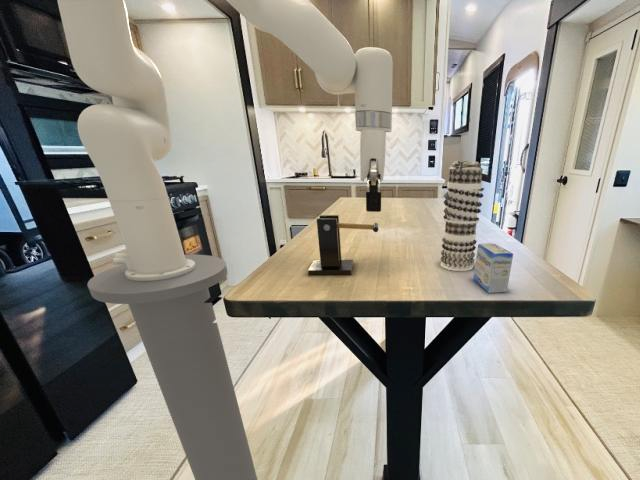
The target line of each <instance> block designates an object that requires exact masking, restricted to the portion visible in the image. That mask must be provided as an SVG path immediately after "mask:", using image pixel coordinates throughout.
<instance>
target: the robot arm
mask: <svg viewBox="0 0 640 480" xmlns="http://www.w3.org/2000/svg"><path fill="white" fill-rule="evenodd" d="M225 1H226V2H227V3H228V4H229V5H231V6H232V8H233V9H234V10H236V11H237V12H238V13H239V14H240V15H241V16H242V17H243V18H244V19H245V20H246V21H247V22H248V23H250V24H251V25H252V26H253V27H254V28H256V29H257V30H258V31H261V32H263V33H268V34H270V35H272V36H273V37H275V38H276V39H278V40H279V41H280V42H281V43H283V44H284V45H285V46H286V47H287V48H288V49H290V50H291V52H293V53H294V54H295V55H296V56H297V57H298V58H299V59H300V60H302V61H303V63H304V64H306V65H307V66H308V67H309V68H310V69H311V70H312V71H313V72H314V75H315V78H316V82H317V83H318V85H319V86H320V87H321V89H322V90H323V91H324V92H326V93H328V94H331V95H347V94H354V106H355V107H354V112H355V113H354V116H355V117H354V119H355V121H354V123H355V131H356V132H360V140H359V144H360V145H359V158H360V161H359V163H360V165H359V167H360V168H359V169H360V181H361V182H365V179H366V191H365V211H366V212H370V213H374V212H375V213H380V212H381V211H382V192H381V183H382V182H383V181H384V176H385V165H386V142H387V141H386V139H387V138H386V137H387V136H386V135H387V133H392V125H393V124H392V121H393V114H392V113H393V70H394V69H393V68H394V62H393V61H394V60H393V57H392V54H391V53H390V52H389V51H388V50H387V49H384V48H380V47H373V46H368V47H363V48H360V49H358V50H357V51H356V52H355V53H354V50H353V48H352V46H351V44H350V43H349V41H348V40H347V39H346V38H345V36H344V35H343V34H342V33H341V31H340V30H339V29H338V28H336V27H335V25H334V24H333V23H332V22H331V21H330V20H329V19H328V18H327V17H326V16H325V15H324V14H323V13H322V12H321V11H320V10H319V9H318V7H316V6H315V5H314V4H313V3H312V2H310V0H225ZM57 5H58V10H59V14H60V18H61V23H62V27H63V31H64V35H65V36H64V37H65V40H66V44H67V48H68V53H69V57H70V61H71V65H72V67H73V70H74V71H75V74H76V75H77V76H78V77H79V79H80V80H81V81H82V82H83V83H84V84H85V85H87V86H88V87H89V88H90V89H93V90H94V91H96V92H98V93H100V94H104V95H107V96H110V97H111V101H112V104H111V103H97V104H92V105H90V106H88V107H86V108H84V109H83V110H82V111H81V113H80V114H79V116H78V119H77V125H76V126H77V133H78V136H79V140H80V141H81V144H82V146H83V148H84V149H85V151H86V153H87V155H88V156H89V158H90V160H91V162H92V163H93V165H94V167H95V169H96V171H97V174H98V177H99V179H100V180H101V183H102V185H103V188H104V191H105V194H106V196H107V199H108V201H109V204H110V207H111V210H112V213H113V216H114V218H115V221H116V224H117V226H118V229H119V232H120V236H121V238H122V241H123V244H124V247H125V249H126V252H127V253H126V252H119V253H115V254H114V258H112V263H113V264H114V265H124V264H126V265H127V268H128V269H127V270H126V271H125V275H126V277H127V278H128V279H130V280H133V281H157V280H164V279H169V278H174V277H178V276H181V275H184V274H187V273H189V272H191V271H192V270H194V269H195V267H196V265H195V262H194V261H193V260H190V259H185V255H186V254H185V252H184V249H183V245H182V241H181V237H180V234H179V231H178V230H179V229H178V227H177V224H176V220H175V215H174V213H173V209H172V205H171V202H170V198H169V195H168V191H167V188H166V185H165V182H164V179H163V177H162V175H161V172H160V170H159V169H158V167H157V165H156V163H155V162H156V161H159V160H162V159H164V158H166V156H168V154H169V152H170V151H171V148H172V131H171V125H170V117H169V112H168V104H167V97H166V96H167V95H166V91H165V85H164V82H163V78H162V75H161V73H160V71H159V69H158V67H157V66H156V64H155V63H154V61H153V60H152V59H151V58H150V57H149V56H148V55H147V54H146V53H145V52H144V51H142V50H141V49H140V48H137V47H136V46H135V45H134V42H133V38H132V33H131V29H130V25H129V24H130V23H129V15H128V9H127V5H126V2H125V0H57Z"/></svg>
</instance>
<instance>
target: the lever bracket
mask: <svg viewBox="0 0 640 480" xmlns="http://www.w3.org/2000/svg"><path fill="white" fill-rule="evenodd" d="M337 223H340V216H339V214H320V215H319V217H318V218H316V227H317V228H316V230H317V239H318V247H319V248H318V250H319V259H313V261H312V263H311V264H310V266H309V268H308V269H307V274H308V276H351V275H352V273H353V268H354V259H342V246H341V245H342V244H341V232H340V231H341V230H340V229H341V228H337Z"/></svg>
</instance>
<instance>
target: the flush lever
mask: <svg viewBox="0 0 640 480" xmlns="http://www.w3.org/2000/svg"><path fill="white" fill-rule="evenodd" d="M337 228H339V229H351V230H369V231H370V230H371V231H373V232H374V233H378V232H379V223H378V222H374V223H373V224H367V223H350V222H349V223H348V222H339V223H337Z"/></svg>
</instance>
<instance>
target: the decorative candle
mask: <svg viewBox="0 0 640 480" xmlns="http://www.w3.org/2000/svg"><path fill="white" fill-rule="evenodd" d="M448 169H449V173H448V181H447V185H446V186H447V187H446V188H447V191H446V192H445V194H443V197H444V198H445V199H444V200H443V204H444V206H445V208H444V209H443V213H444V215H443V220H444V222H445V225H444V227H445V229H444V231H443V238H441V241H442V244H441V248H442V250H441V251H440V255H441V257H440V261H441V262H440V266H441V267H442V268H443V269H445V270H449V271H454V272H466V271H470V270H473V268H474V264H475V259H474V258H475V256H476V253H475V252H474V251H476V250H477V249H476V248H477V246H476V244H477V240H476V237H477V232H476V231H477V223H479V221H480V218H479V217H478V214H480V213H481V212H482V210H481V209H480V208H481V206H482V205H483V204H482V202H481V201H480V199H481V198H484V193H482V192H483V191H484V190H485V187H482V185H483V182H482V180H483V179H482V178H483V171H484V168H482V166H481V163H480V162H479V161H474V160H455V161H453V163H452V164H451V165H450V167H448Z"/></svg>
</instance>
